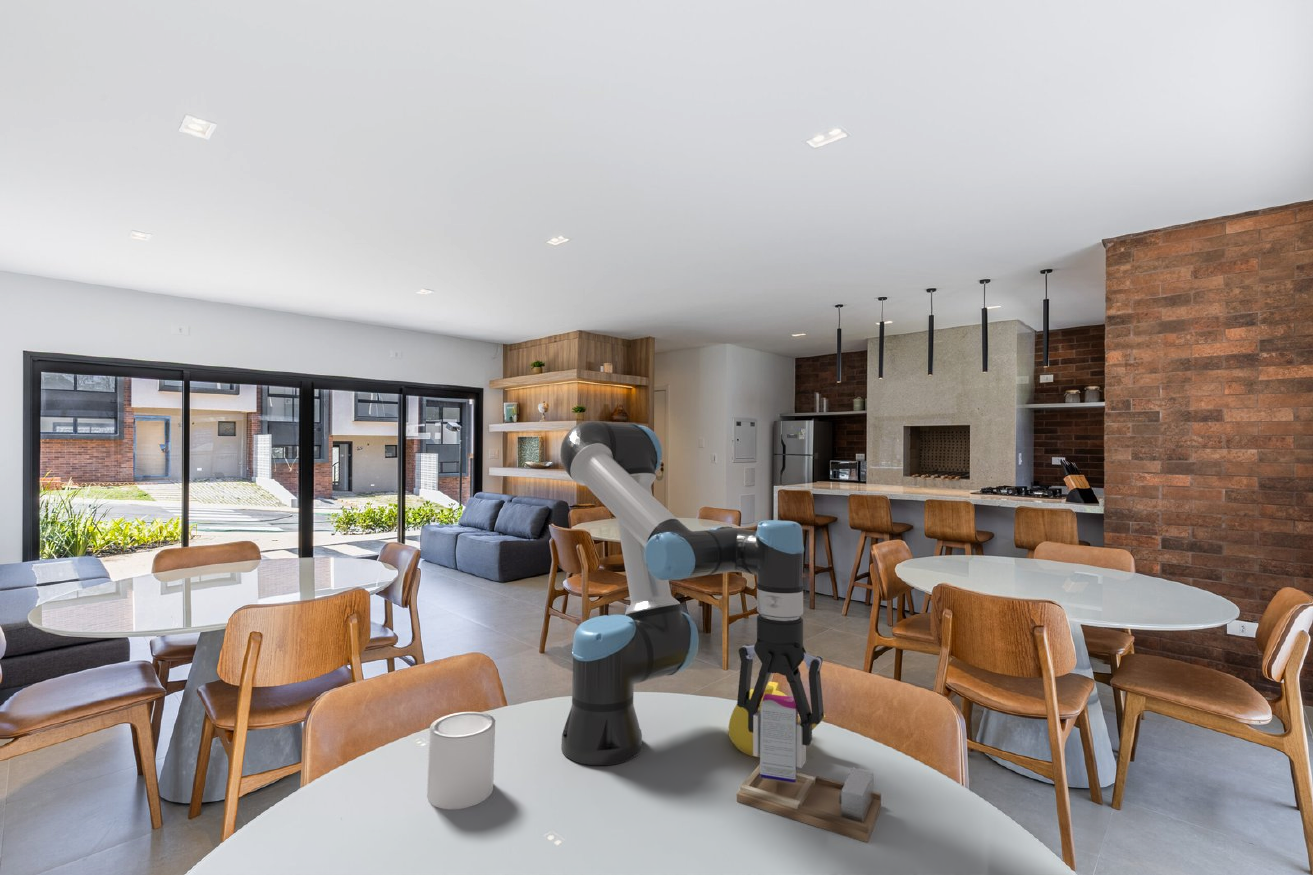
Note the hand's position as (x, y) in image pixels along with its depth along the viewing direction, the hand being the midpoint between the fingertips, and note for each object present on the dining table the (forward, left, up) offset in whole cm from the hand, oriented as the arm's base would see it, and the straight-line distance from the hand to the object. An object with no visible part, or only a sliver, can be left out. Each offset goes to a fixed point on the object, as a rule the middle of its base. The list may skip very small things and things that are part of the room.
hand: (779, 758), depth 99 cm
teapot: (-6, +17, -6) cm, 19 cm away
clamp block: (+12, 0, -4) cm, 13 cm away
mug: (-45, -25, -6) cm, 52 cm away
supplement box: (0, 0, -2) cm, 2 cm away
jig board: (+5, 0, -6) cm, 8 cm away
